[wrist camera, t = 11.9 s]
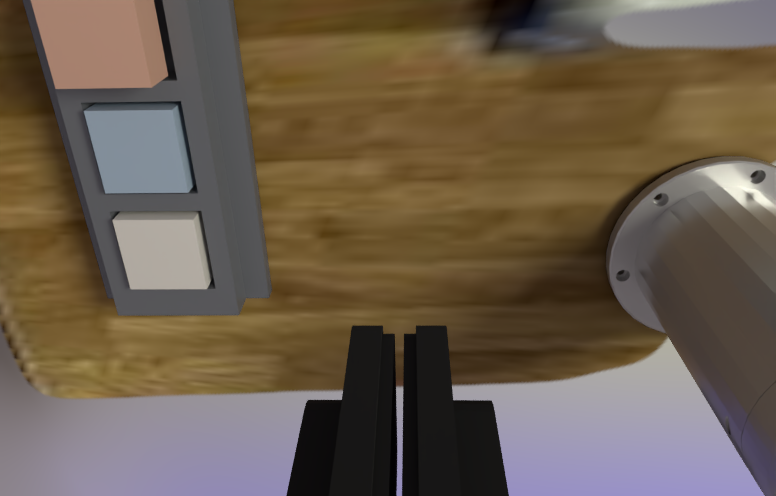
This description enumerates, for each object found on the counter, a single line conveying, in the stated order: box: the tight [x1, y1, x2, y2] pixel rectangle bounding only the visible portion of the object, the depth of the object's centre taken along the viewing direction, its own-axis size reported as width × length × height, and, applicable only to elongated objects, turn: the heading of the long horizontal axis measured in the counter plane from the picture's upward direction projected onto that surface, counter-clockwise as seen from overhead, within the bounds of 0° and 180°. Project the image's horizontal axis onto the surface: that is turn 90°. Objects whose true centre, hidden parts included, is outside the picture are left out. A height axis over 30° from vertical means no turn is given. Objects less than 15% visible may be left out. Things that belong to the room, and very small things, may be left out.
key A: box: [112, 211, 213, 289], centre depth 38 cm, size 5×5×2 cm
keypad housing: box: [23, 0, 272, 315], centre depth 35 cm, size 29×11×3 cm, turn 1°
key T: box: [84, 101, 196, 193], centre depth 35 cm, size 5×5×2 cm
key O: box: [31, 0, 168, 89], centre depth 30 cm, size 5×5×2 cm
